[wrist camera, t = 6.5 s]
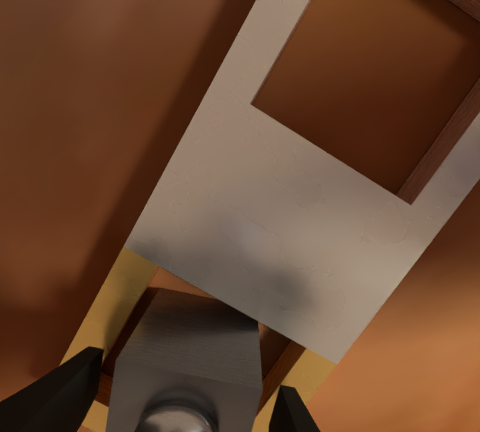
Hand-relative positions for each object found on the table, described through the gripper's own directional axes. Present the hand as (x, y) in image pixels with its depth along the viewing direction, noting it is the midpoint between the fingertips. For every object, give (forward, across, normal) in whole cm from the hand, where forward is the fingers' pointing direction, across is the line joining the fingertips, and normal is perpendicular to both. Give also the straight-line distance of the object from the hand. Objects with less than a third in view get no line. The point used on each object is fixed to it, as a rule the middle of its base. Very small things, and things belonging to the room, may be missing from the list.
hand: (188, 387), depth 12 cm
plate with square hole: (+2, -2, -7) cm, 7 cm away
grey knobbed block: (+2, 0, 0) cm, 3 cm away
